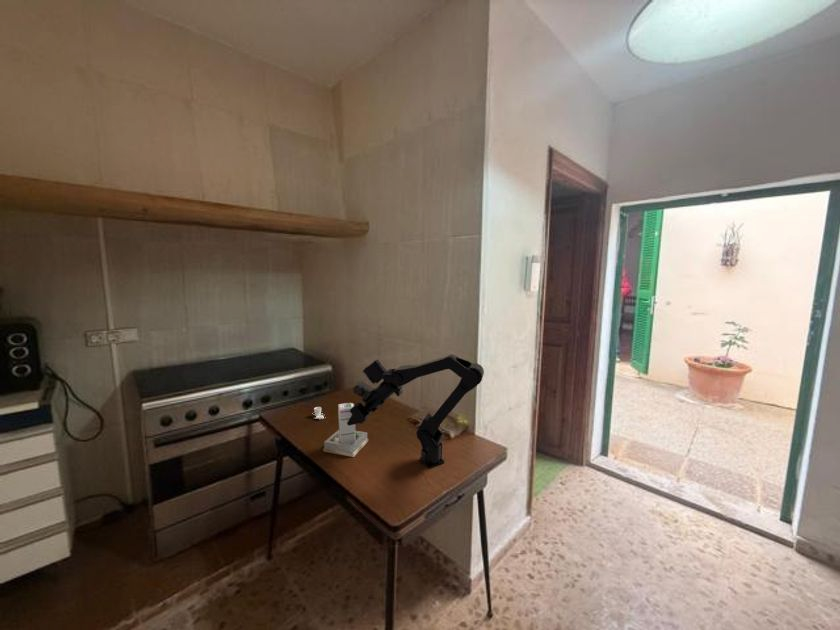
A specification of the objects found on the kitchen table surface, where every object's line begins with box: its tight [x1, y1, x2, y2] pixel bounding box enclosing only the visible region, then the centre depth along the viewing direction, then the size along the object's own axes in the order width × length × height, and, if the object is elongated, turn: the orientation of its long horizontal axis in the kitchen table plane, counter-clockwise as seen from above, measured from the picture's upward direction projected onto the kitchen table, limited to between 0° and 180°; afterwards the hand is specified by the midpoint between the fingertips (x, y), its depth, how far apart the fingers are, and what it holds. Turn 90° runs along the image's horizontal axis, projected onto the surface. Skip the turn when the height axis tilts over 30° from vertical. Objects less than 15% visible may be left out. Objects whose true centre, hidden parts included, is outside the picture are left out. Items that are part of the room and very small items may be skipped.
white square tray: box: [322, 429, 369, 458], centre depth 122 cm, size 12×12×4 cm
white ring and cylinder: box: [313, 406, 325, 420], centre depth 148 cm, size 9×8×4 cm
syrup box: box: [337, 402, 357, 445], centre depth 122 cm, size 6×6×14 cm
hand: (354, 419), depth 120 cm, fingers open, 9 cm apart
